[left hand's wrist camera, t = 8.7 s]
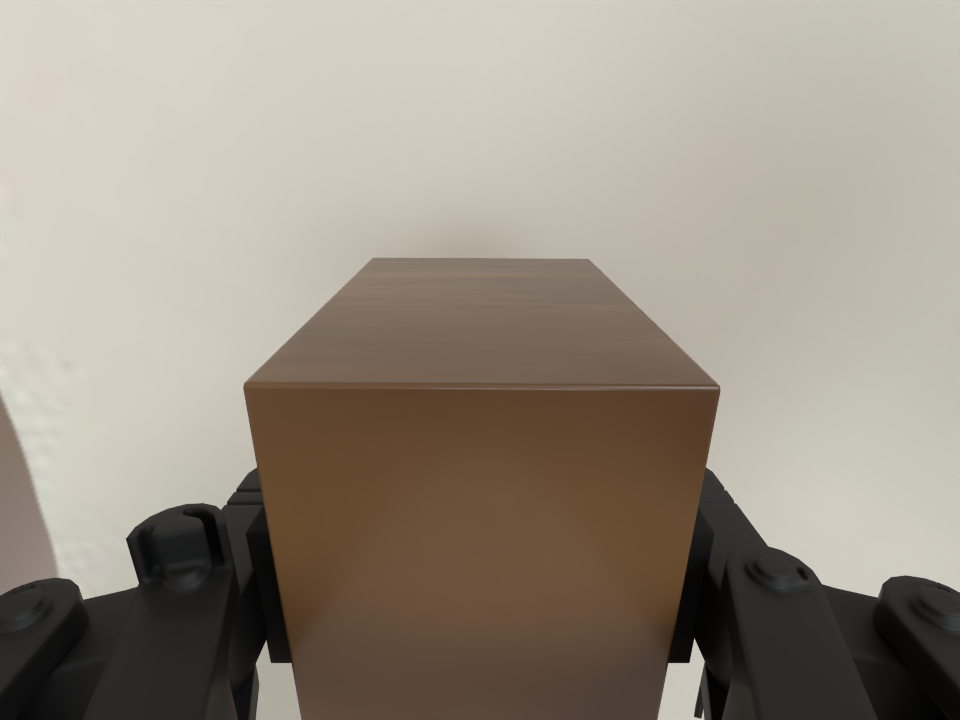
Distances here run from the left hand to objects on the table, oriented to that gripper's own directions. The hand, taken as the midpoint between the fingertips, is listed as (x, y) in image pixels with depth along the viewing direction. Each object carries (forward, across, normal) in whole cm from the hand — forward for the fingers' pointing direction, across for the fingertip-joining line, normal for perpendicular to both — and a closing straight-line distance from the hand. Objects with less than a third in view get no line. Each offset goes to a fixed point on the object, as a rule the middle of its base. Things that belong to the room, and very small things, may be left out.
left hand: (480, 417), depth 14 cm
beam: (+1, 0, -24) cm, 24 cm away
